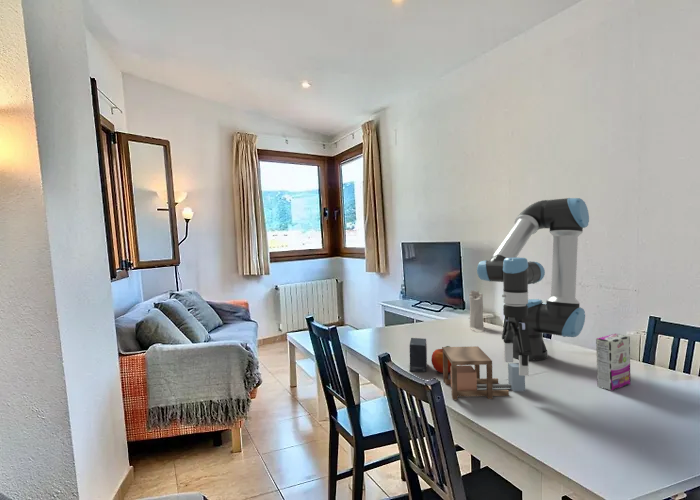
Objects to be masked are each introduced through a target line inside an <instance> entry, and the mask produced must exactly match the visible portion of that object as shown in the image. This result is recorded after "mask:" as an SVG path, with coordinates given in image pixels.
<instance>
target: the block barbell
mask: <svg viewBox="0 0 700 500" xmlns="http://www.w3.org/2000/svg"><path fill="white" fill-rule="evenodd" d="M507 363H508V364H507V373H508V375H507V376H508V383H498V384H493V389H510V390H511V391H512V392H526V376H520V375H519V362H507ZM450 369H451V366H450ZM450 379H451V384H450V387H451V388H452V371H451V372H450ZM479 389H480V390H485V389H487V384H477V372H476V371H475V368H474V367H473V365H457V391H463V390H479Z"/></svg>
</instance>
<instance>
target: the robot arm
mask: <svg viewBox="0 0 700 500" xmlns="http://www.w3.org/2000/svg"><path fill="white" fill-rule="evenodd" d="M589 222H590V216H589V210H588V205H587V204H586V202H585V201H584V199H582V198H580V197H579V198H578V197H568V198H567V197H566V198H557V199H556V198H555V199H542V200H539V201H536V202H534V203H532V204H530V205H529V206H527V207H526V208H525V209H523V210H522V211H521V212H520V213H519V214H518V215H517V217H516V218H515V219H514V225H513V227H511V230H510V231H509V232H508V233H507V235H506V237H505V238H504V239H503V241H501V244H500V245H499V246H498V248H497V249H496V250H495V252H494V253H493V255H492V256H491V257H490V259H488V260H487V259H485V260H480V261H479V262H478V264H477V267H476V268H477V269H476V273H477V277H478V278H479V280H481V281H486V282H495V283H496V282H499V283H500V282H501V283H502V284H503V290H502V291H503V292H502V293H503V294H502V295H501V297H502V298H503V303H504V305H502V306H503V316H504V322H503V329H502V333H501V340H503V344H504V345H503V347H504V348H503V349H504V351H503V352H504V354H503V355H504V357H503V359H504V363H514V359H518V363H519V375H520V376H525V377H526V376H529V368H530V367H529V361H542V360H546V359H547V358H548V349H547V346H546V343H545V340H544V337H543V335H544V334H549V335H552V336H553V335H554V336H560V337H562V338H566V337H567V338H576V337H578V336H579V335H580V334H581V332H582V330H583V328H584V325H585V322H586V310H585V309H584V308H583V307H580V301H579V300H578V299H577V297H576V295H577V294H576V290H577V289H576V288H577V268H578V266H577V265H578V245H579V243H578V241H579V236H581V235H582V234H583V229H585V228H588V226H589ZM542 229H549V233H550V234H551V236H553V238H552V239H553V240H552V241H553V242H552V257H551V258H552V263H551V265H552V266H551V284H550V287H551V289H550V296H549V297H548V298H547V299H546V301H545V303H544V302H543V300H542V299H539V298H538V299H537V298H536V299H535V298H533V299H529V290H528V289H529V285H531V284H533V285H534V284H537V283H539V282H541V281H542V280H543V279H544V278H545V274H546V271H545V268H544V266H543V265H542V264H541V263H540V262H537V261H528V259H527V258H526V257H519V254H520V253H521V251H522V250H523V248H524V247H525V246H526V244H527V242H528V241H529V239H530V238H531V236H532V235H534V234H536V233H537V232H538V230H542Z"/></svg>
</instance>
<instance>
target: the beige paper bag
mask: <svg viewBox="0 0 700 500" xmlns="http://www.w3.org/2000/svg"><path fill="white" fill-rule="evenodd" d="M483 295H484V294H483V293H482V292H481V293H480V291H479V290H470V293H469V296H468V297H469V299H468V300H469V328H470V329H471V331H472V332H476V333H484V331H485V330H486V329H485V327H484V301H483Z"/></svg>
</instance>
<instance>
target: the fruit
mask: <svg viewBox="0 0 700 500" xmlns="http://www.w3.org/2000/svg"><path fill="white" fill-rule="evenodd" d="M443 347H444V346H442V347H441V348H438V349H435V350H434V351H433V352H432V354H431V361H430V362H431V365H432V367H433V368H434V370H435V372H438V373H441V374H443ZM445 347H451V346H450V345H446V346H445ZM450 366H451V362H450V361H449V359H448V374H451V369H450Z"/></svg>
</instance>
